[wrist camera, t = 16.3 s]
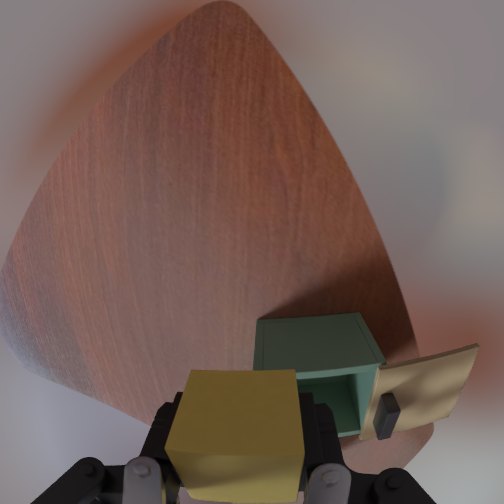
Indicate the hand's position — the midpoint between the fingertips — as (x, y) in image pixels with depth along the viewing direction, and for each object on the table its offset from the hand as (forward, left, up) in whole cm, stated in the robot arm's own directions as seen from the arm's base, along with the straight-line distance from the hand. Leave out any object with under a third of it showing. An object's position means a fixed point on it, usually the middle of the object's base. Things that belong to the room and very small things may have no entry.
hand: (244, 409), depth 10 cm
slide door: (-3, +18, -9) cm, 21 cm away
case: (+4, +11, -18) cm, 22 cm away
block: (0, 0, 0) cm, 0 cm away
